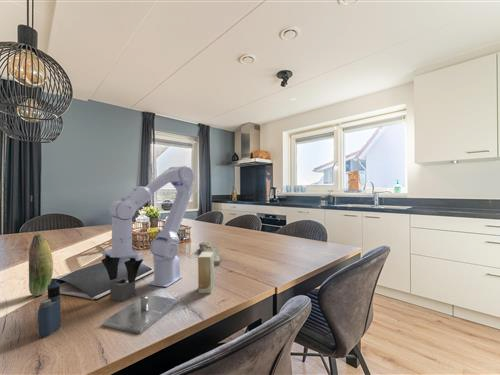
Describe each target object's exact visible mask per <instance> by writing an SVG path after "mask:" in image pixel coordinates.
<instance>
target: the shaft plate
mask: <svg viewBox="0 0 500 375" xmlns="http://www.w3.org/2000/svg"><path fill="white" fill-rule="evenodd" d="M179 304H181V300H180V299H176V298H172V297H163V296H158V295H152V294H146V295H142V296H141V297H140V298H139V299H137V300H136V301H134V302H133V303H131V304H129V305H128V306H126V307H124V308H122V309H121V310H119V311H117V312H116V313H114V314H112V315H111V316H110V317H108V318H106V319H104V320H103V321H102V326H103V327H108V328H113V329H117V330H122V331H124V332H125V331H127V332H130V333H135V334H138V335H141V334H143V333H144V332H145V331H146V330H148V329H149V328H150V327H151V326H153V325H155V323H157V322H158V321H159V320H160V319H162V318H163V317H164V316H165V315H167V314H168V313H169V312H171V311H172V310H173V309H174V308H176V307H177V306H178V305H179Z"/></svg>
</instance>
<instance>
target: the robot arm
mask: <svg viewBox="0 0 500 375" xmlns="http://www.w3.org/2000/svg"><path fill="white" fill-rule="evenodd" d="M195 178H196V176H195V172H194V171H193V168H191V167H190V166H188V165H183V166H170V167H169V168H168V169H165V170H163V172H162V173H161V174H160V175H158V176H157V177H156V178H154V179H153V180H151V182H149V183H148V184H146V186H135V187H132V188H133V189H132V191H131V192H129V193H128V194H127V195H122V196H121V197H120V198H121V199H120V200H115V201H113V202H112V203H111V204H110V206H109V209H107V212H108V214H109V216H110V217H111V249H108V248H107V249H105V250H102V257H103V259H101V263H102V265H103V266H104V267H105V270H106V272H107V275H108V278H109V280H110V281H113V280H115V279H117V278H118V273H119V272H118V270H119V268H118V267H119V263H120V260H121V259H127V261H124V266H125V268H126V272H127V278H128V283H132V282H134V281H135V282H136V279H137V274H138V272H139V271H138V270H139V268H140V266H141V264H142V263H143V261H144V259H143V257H144V256H143V255H144V254H143V253H144V252H139V251H136V250H133V217H134V216H135V214H136V211H137V210H139V209H140V208H141V207H143V206H144V205H145V204H147V203H148V202H149V201H150V200H151V199H152V197H153V196H152V195H153V194H154V193H156V192H157V191H159V190H160V189H162V188H163V187H164V186H167V185H168V183H170V184H171V185H172V186H173V188H175V190H176V192H177V193H176V195H175V198H174V201H173V202H172V206H171V208H170V211H169V213H168V215H167V218H166V221H165V223H164V226H163V228H162V230H161V231H160V232H158V233H157V234H156V236H155V238H154V239H153V240H152V241H151V243H150V246H149V251H150V253H151V254H152V255H153V256H152V257H153V280H152V281H150V282H148V286H156V287H163V288H168V287H170V286H171V285H173V284H174V283H176V282H177V281H180V279H182V278H183V276H181V262H180V258H179V257H178V256H177V254H178V252H179V244H180V238H179V236H178V233H179V230H180V227H181V224H182V222H183V220H184V216H185V214H186V211H187V208H188V206H189V202H190V200H191V198H192V194H193V191H194V190H193V188H194V187H193V186H194V184H193V182H194V180H195Z"/></svg>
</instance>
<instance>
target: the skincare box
mask: <svg viewBox="0 0 500 375" xmlns="http://www.w3.org/2000/svg"><path fill="white" fill-rule="evenodd" d="M214 268H215V266H214V252H202V253H201V252H200V254H199V255H198V257H197V271H198V272H197V273H198V277H197V280H198V281H197V282H198V286H197V287H198V290H197V291H198V294H211V293H212V292H213V290H214V286H215V269H214Z"/></svg>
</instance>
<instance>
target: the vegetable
mask: <svg viewBox="0 0 500 375" xmlns="http://www.w3.org/2000/svg"><path fill="white" fill-rule="evenodd" d="M53 260H54V259H53V255H52V250H51V247H50V245H49V242H48V241H47V240H46V239H45V238H44V236H43V235H42V234H35V235H34V236H33V238H32V240H31V244H30V246H29V251H28V289H29V293H30V294H31V295H32V296H35V297H39V296H42V295H43V294H44V293H46V292H47V291H48V285H49V284H51V281H52V278H53V272H54V261H53Z"/></svg>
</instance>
